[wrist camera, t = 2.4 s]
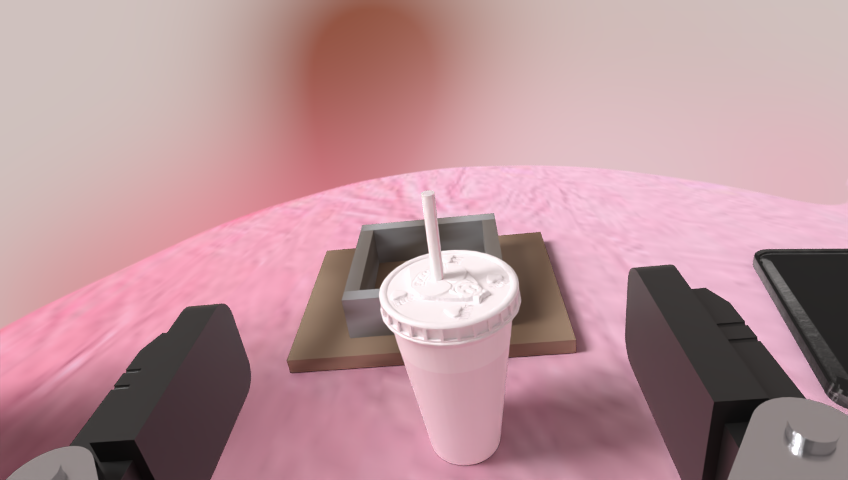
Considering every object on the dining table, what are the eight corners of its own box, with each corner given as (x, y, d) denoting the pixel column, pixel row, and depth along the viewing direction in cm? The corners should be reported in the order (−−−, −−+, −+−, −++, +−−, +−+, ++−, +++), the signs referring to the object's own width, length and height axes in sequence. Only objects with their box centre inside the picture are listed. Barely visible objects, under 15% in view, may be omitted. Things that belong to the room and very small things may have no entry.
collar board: (290, 372, 36) (275, 322, 34) (329, 261, 48) (319, 219, 46) (575, 352, 34) (576, 298, 32) (540, 242, 47) (539, 199, 45)
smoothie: (454, 377, 34) (428, 158, 27) (549, 424, 30) (546, 180, 23) (380, 448, 30) (328, 210, 23) (479, 513, 26) (451, 248, 19)
